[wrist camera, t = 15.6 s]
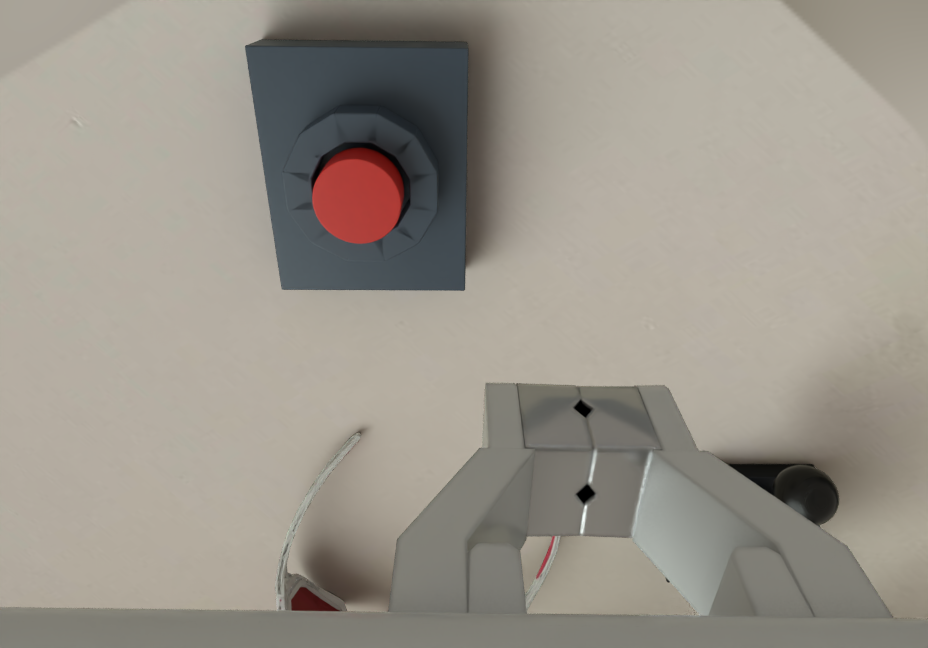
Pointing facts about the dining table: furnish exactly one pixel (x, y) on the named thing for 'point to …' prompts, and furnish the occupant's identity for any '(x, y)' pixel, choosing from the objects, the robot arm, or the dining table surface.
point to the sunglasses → (310, 597)
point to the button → (358, 195)
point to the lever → (807, 492)
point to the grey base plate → (373, 127)
